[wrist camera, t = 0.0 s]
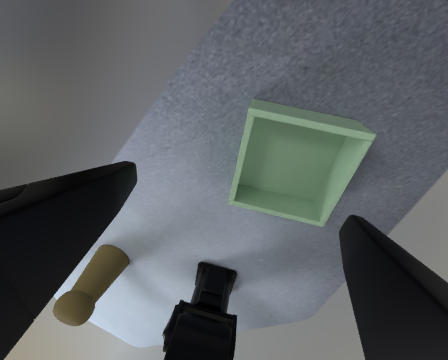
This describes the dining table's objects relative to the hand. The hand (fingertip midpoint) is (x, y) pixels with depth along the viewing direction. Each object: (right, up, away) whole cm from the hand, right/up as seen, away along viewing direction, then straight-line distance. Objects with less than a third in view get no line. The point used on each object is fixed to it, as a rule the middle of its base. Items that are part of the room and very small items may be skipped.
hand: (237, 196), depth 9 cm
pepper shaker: (-21, -13, +30) cm, 39 cm away
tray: (+6, +3, +14) cm, 16 cm away
